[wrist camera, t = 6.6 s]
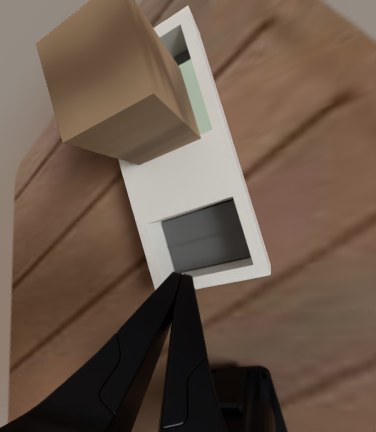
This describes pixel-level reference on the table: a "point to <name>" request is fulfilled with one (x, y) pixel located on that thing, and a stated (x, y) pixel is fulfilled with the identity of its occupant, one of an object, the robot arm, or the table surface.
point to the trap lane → (196, 185)
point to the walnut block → (116, 84)
